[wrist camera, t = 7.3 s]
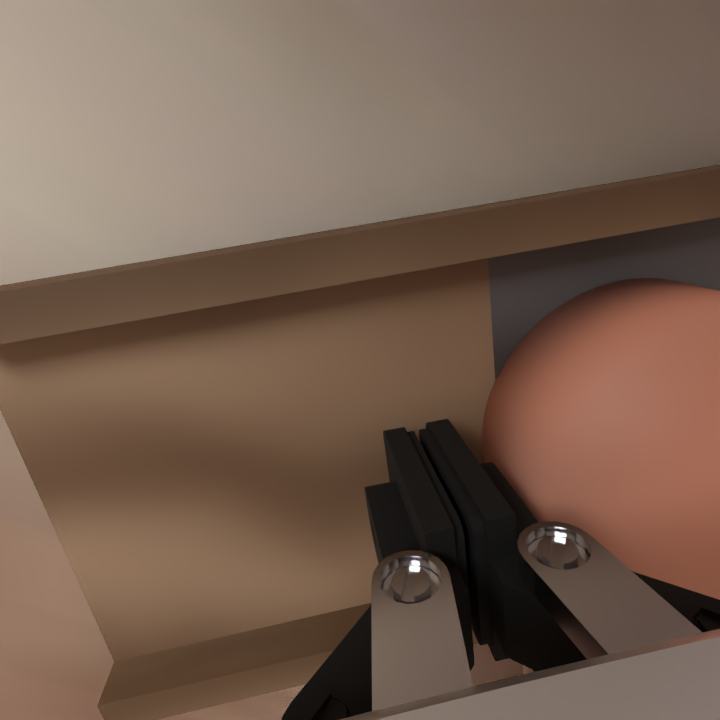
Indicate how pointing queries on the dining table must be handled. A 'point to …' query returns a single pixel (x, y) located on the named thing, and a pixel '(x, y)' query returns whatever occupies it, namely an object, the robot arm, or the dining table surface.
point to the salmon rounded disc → (620, 425)
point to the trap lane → (288, 411)
